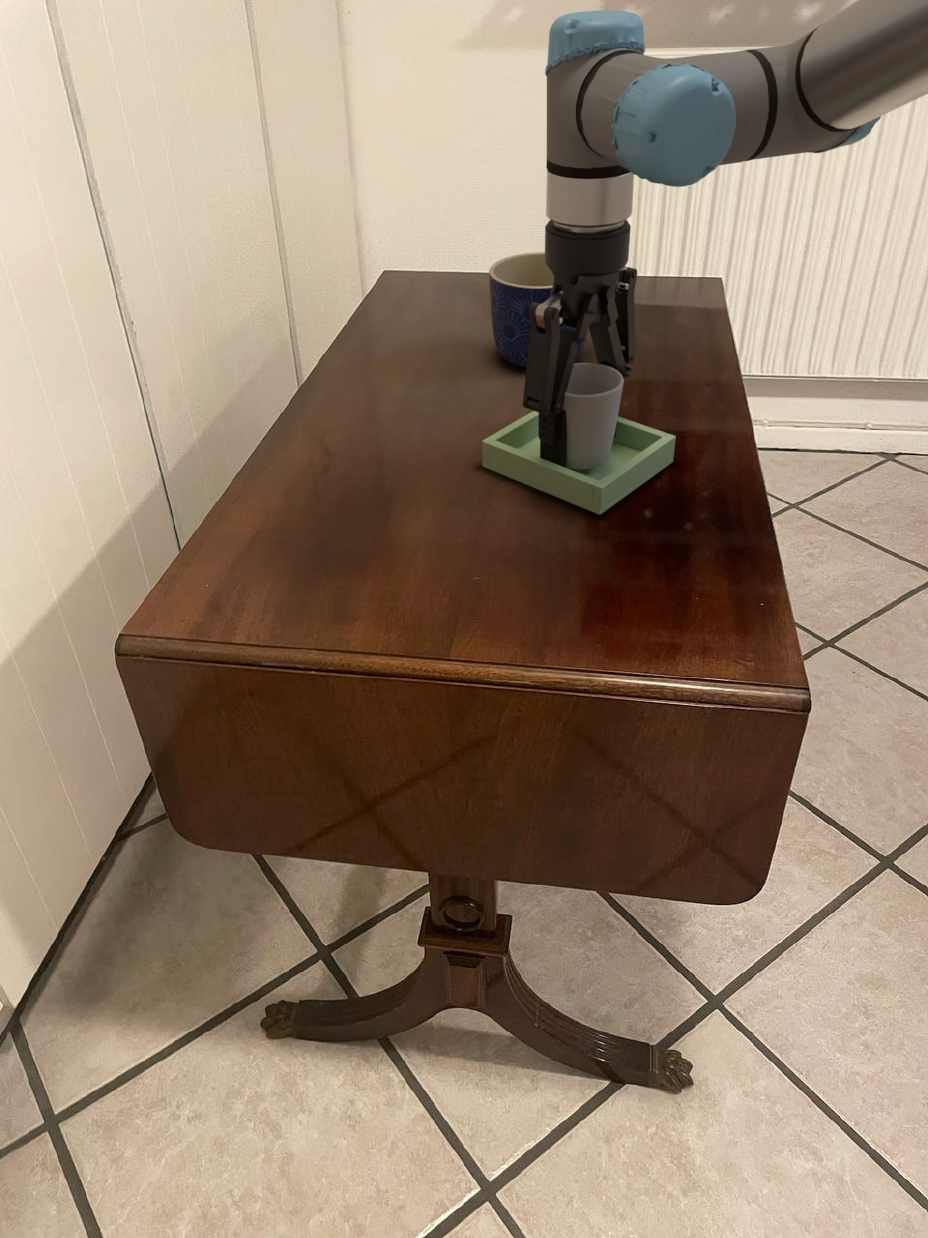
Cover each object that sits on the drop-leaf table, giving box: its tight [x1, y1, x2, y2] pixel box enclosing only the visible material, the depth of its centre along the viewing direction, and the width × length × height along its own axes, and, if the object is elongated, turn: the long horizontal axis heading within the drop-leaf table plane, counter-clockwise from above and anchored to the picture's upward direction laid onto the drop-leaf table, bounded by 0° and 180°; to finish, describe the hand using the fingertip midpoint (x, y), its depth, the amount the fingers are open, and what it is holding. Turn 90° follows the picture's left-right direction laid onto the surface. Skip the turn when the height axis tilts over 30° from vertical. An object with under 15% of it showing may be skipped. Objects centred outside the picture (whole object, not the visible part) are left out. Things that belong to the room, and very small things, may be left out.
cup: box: [552, 362, 625, 469], centre depth 95 cm, size 8×10×8 cm
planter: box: [488, 251, 588, 368], centre depth 117 cm, size 12×12×11 cm
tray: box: [481, 410, 677, 515], centre depth 98 cm, size 15×13×3 cm
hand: (578, 450), depth 98 cm, fingers closed on cup, 8 cm apart
